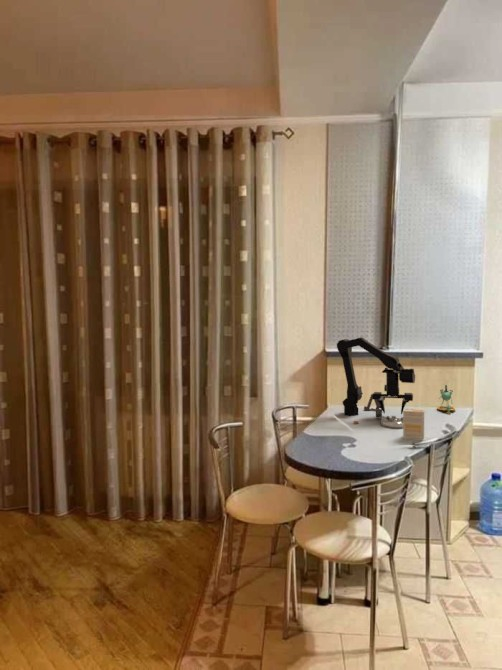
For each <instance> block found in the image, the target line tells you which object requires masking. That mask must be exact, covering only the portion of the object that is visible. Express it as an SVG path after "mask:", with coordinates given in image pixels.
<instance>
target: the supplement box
mask: <svg viewBox="0 0 502 670" xmlns="http://www.w3.org/2000/svg"><path fill="white" fill-rule="evenodd" d="M402 417H403V428H402V429H403V430H402V434H403V435H402V436H403V440H404V439H407V440H413V441H414V440H416V441H424V439H425V409H416V408H415V409H414V408H404V409H403V413H402Z"/></svg>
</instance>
